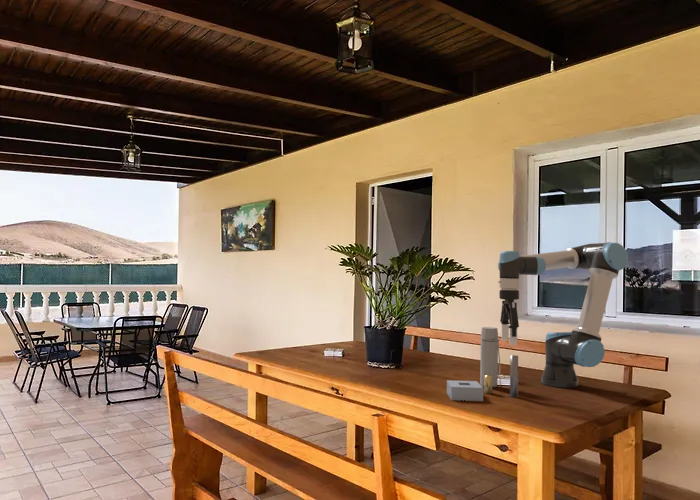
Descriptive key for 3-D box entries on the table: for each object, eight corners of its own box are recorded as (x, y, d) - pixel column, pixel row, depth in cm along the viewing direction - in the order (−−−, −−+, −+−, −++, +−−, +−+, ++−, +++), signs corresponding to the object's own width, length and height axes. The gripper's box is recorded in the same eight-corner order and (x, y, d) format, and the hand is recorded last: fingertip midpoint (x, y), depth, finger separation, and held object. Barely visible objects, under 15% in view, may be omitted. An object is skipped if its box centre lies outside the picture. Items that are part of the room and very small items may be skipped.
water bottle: (485, 388, 218) (486, 328, 219) (476, 384, 226) (477, 326, 227) (505, 387, 221) (505, 328, 222) (495, 383, 228) (495, 326, 229)
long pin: (516, 395, 207) (517, 355, 207) (518, 397, 204) (519, 356, 204) (509, 395, 207) (509, 355, 207) (511, 397, 204) (511, 356, 204)
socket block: (476, 393, 209) (476, 381, 209) (483, 401, 197) (483, 387, 197) (446, 392, 209) (446, 380, 210) (451, 400, 197) (451, 386, 198)
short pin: (491, 392, 212) (491, 374, 212) (492, 393, 209) (492, 376, 209) (483, 392, 212) (483, 374, 212) (485, 393, 209) (485, 376, 209)
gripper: (493, 288, 221) (493, 338, 220) (507, 290, 196) (506, 347, 195) (511, 288, 220) (511, 338, 220) (527, 290, 195) (527, 347, 195)
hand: (509, 342), depth 207 cm, fingers open, 13 cm apart
